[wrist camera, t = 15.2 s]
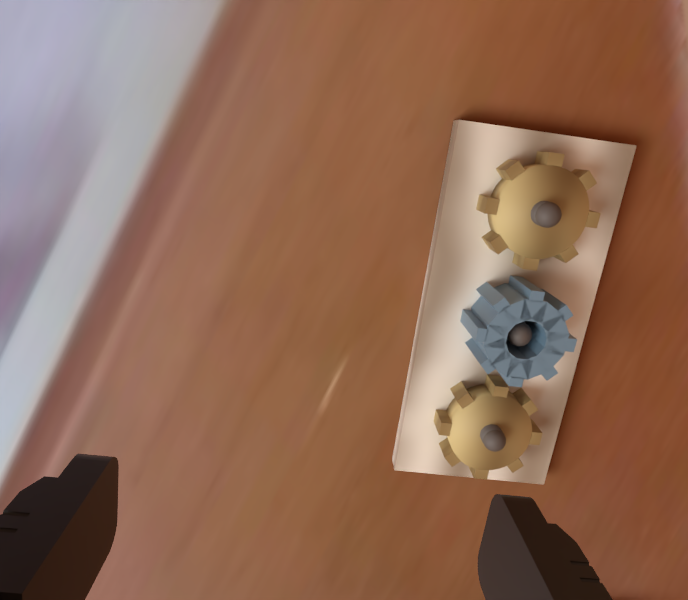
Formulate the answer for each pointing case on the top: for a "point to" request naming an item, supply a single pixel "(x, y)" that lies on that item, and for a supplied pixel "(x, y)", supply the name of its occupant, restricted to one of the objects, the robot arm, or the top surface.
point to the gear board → (495, 268)
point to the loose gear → (502, 315)
